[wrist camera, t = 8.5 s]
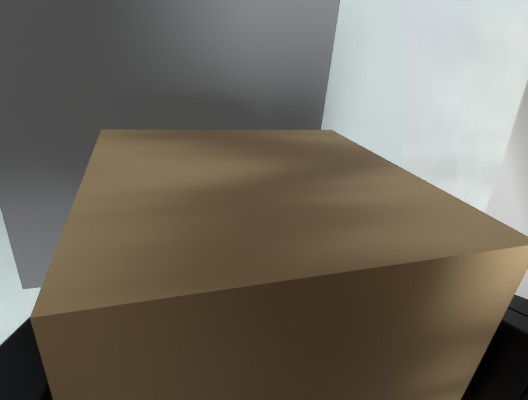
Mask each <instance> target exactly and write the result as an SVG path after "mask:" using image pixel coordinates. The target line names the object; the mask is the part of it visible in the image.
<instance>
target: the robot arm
mask: <svg viewBox="0 0 528 400" xmlns="http://www.w3.org/2000/svg"><path fill="white" fill-rule="evenodd" d="M0 400H53V398H52V395H51V391H50V387H49V384H48V380H47V377H46V373H45V370H44V366H43V363H42V359H41V355H40V352H39V348H38V345H37V341H36V338H35V334H34V331H33V327H32V323H31V320H30V317H29V318H28V319H27V320H26V321H25V322H24V323H23V324H22V325H21V326H20V327H19V328H18V329H17V330H16V331H14V332H13V333H12V334H11V335H10V336H9V337H8V338H7V339H6V340H5V341H4V342H3V343H2V344H1V345H0ZM461 400H528V299H525V298H522V297H520V296H517V295H515V294H514V296H513V298H512V300H511V302H510V304H509V306H508V308H507V310H506V312H505V314H504V316H503V318H502V320H501V322H500V324H499V326H498V328H497V330H496V332H495V333H494V335H493V337H492V339H491V341H490V343H489V345H488V347H487V349H486V351H485V353H484V355H483V357H482V359H481V361H480V363H479V365H478V367H477V369H476V371H475V373H474V375H473V377H472V379H471V381H470V383H469V385H468V386H467V388H466V390H465V392H464V394H463V396H462V398H461Z"/></svg>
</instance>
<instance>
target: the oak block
mask: <svg viewBox="0 0 528 400" xmlns="http://www.w3.org/2000/svg"><path fill="white" fill-rule="evenodd" d="M527 269H528V236H526V235H524V234H522V233H520V232H518V231H517V230H515V229H513V228H511V227H509V226H507V225H505V224H504V223H502V222H500V221H498V220H496V219H494V218H493V217H491V216H489V215H487V214H485V213H483V212H482V211H480V210H478V209H476V208H474V207H472V206H471V205H469V204H467V203H465V202H463V201H461V200H460V199H458V198H456V197H454V196H452V195H450V194H448V193H447V192H445V191H443V190H441V189H439V188H437V187H436V186H434V185H432V184H430V183H428V182H426V181H425V180H423V179H421V178H419V177H417V176H415V175H414V174H412V173H410V172H408V171H406V170H404V169H402V168H401V167H399V166H397V165H395V164H393V163H391V162H390V161H388V160H386V159H384V158H382V157H380V156H379V155H377V154H375V153H373V152H371V151H369V150H367V149H366V148H364V147H362V146H360V145H358V144H356V143H355V142H353V141H351V140H349V139H347V138H345V137H344V136H342V135H340V134H338V133H336V132H334V131H333V130H167V129H101V131H100V134H99V137H98V139H97V142H96V145H95V147H94V150H93V153H92V155H91V158H90V160H89V163H88V166H87V168H86V171H85V174H84V176H83V179H82V182H81V184H80V187H79V190H78V192H77V195H76V197H75V200H74V203H73V205H72V208H71V211H70V213H69V216H68V219H67V221H66V224H65V227H64V229H63V232H62V234H61V237H60V240H59V242H58V245H57V248H56V250H55V253H54V256H53V258H52V261H51V264H50V266H49V269H48V271H47V274H46V277H45V279H44V282H43V285H42V287H41V290H40V293H39V295H38V298H37V300H36V303H35V306H34V308H33V311H32V314H31V316H30V320H31V323H32V327H33V331H34V334H35V338H36V341H37V345H38V348H39V352H40V355H41V359H42V363H43V366H44V370H45V373H46V377H47V380H48V384H49V387H50V391H51V395H52V398H53V400H461V398H462V396H463V394H464V392H465V390H466V388H467V386H468V385H469V383H470V381H471V379H472V377H473V375H474V373H475V371H476V369H477V367H478V365H479V363H480V361H481V359H482V357H483V355H484V353H485V351H486V349H487V347H488V345H489V343H490V341H491V339H492V337H493V335H494V333H495V332H496V330H497V328H498V326H499V324H500V322H501V320H502V318H503V316H504V314H505V312H506V310H507V308H508V306H509V304H510V302H511V300H512V298H513V296H514V294H515V292H516V290H517V288H518V286H519V284H520V282H521V280H522V278H523V276H524V275H525V273H526V270H527Z"/></svg>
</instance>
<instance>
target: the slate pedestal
mask: <svg viewBox="0 0 528 400" xmlns="http://www.w3.org/2000/svg"><path fill="white" fill-rule="evenodd" d="M339 4H340V0H0V207H1V211H2V214H3V218H4V222H5V225H6V229H7V233H8V236H9V240H10V244H11V247H12V251H13V255H14V258H15V262H16V266H17V269H18V273H19V277H20V280H21V284H22V288H23V289H28V288H37V287H42V285H43V282H44V279H45V277H46V274H47V271H48V269H49V266H50V264H51V261H52V258H53V256H54V253H55V250H56V248H57V245H58V242H59V240H60V237H61V234H62V232H63V229H64V227H65V224H66V221H67V219H68V216H69V213H70V211H71V208H72V205H73V203H74V200H75V197H76V195H77V192H78V190H79V187H80V184H81V182H82V179H83V176H84V174H85V171H86V168H87V166H88V163H89V160H90V158H91V155H92V153H93V150H94V147H95V145H96V142H97V139H98V137H99V134H100V131H101V129H167V130H321V124H322V117H323V111H324V104H325V97H326V91H327V84H328V77H329V71H330V64H331V57H332V51H333V44H334V38H335V31H336V24H337V18H338V11H339Z"/></svg>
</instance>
